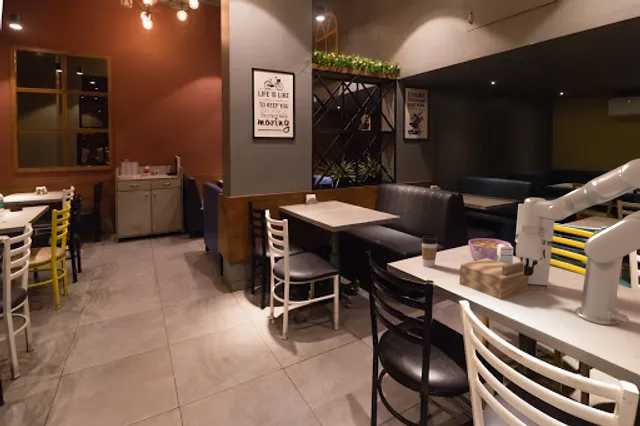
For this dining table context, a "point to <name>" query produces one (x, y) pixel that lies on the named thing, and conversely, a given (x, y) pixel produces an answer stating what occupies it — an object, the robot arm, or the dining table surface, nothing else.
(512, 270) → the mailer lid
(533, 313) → the dining table surface
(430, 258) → the coffee cup
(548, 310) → the dining table surface
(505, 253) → the syrup box
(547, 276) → the tall white box
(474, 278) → the wooden box
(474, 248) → the bowl of food
